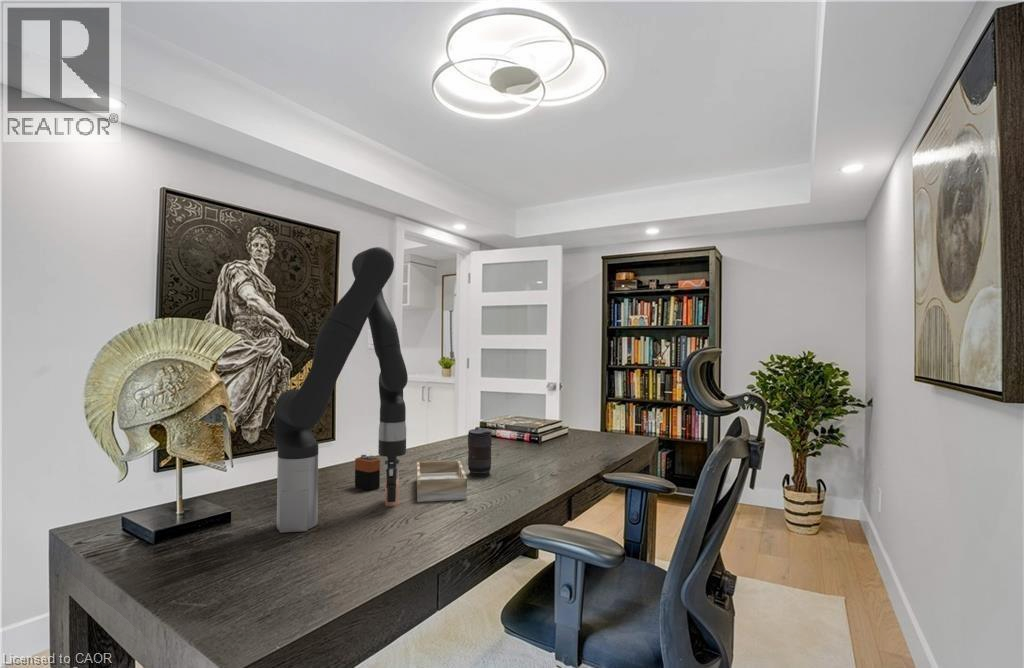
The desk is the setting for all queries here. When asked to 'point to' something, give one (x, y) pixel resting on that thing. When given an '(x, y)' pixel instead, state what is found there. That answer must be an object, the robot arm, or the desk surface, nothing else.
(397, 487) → the peg
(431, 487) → the box
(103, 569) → the desk surface
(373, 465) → the battery
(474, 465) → the camera lens
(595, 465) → the desk surface
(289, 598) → the desk surface
